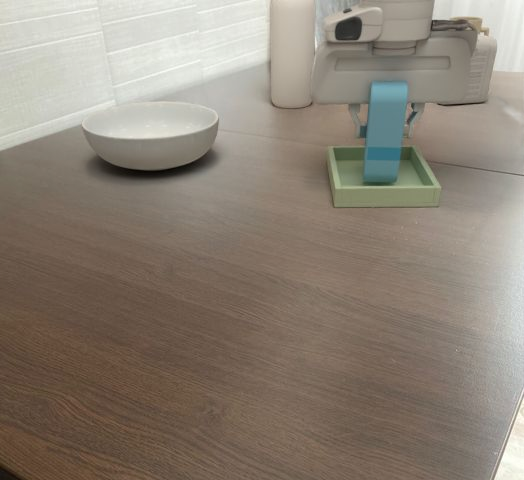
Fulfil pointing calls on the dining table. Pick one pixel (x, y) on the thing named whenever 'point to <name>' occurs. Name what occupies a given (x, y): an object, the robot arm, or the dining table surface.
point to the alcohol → (292, 51)
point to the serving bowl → (151, 134)
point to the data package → (384, 130)
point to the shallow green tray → (381, 193)
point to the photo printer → (480, 70)
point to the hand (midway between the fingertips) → (382, 137)
